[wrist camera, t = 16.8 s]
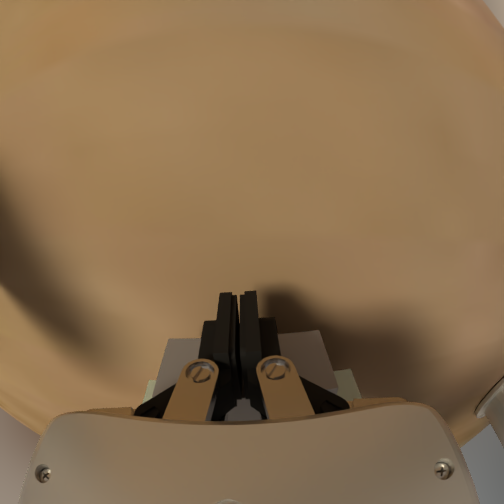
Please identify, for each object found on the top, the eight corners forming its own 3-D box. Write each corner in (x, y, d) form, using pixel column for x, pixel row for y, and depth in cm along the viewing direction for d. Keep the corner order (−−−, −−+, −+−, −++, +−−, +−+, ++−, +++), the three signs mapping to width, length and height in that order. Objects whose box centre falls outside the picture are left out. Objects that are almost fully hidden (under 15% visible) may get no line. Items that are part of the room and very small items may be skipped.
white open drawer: (363, 311, 15) (406, 387, 9) (317, 466, 25) (324, 506, 19) (126, 325, 15) (90, 403, 9) (202, 473, 25) (200, 512, 19)
